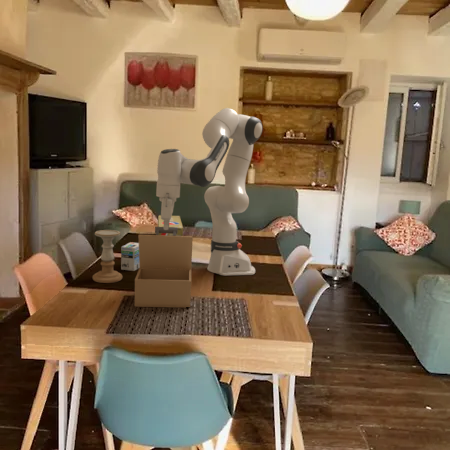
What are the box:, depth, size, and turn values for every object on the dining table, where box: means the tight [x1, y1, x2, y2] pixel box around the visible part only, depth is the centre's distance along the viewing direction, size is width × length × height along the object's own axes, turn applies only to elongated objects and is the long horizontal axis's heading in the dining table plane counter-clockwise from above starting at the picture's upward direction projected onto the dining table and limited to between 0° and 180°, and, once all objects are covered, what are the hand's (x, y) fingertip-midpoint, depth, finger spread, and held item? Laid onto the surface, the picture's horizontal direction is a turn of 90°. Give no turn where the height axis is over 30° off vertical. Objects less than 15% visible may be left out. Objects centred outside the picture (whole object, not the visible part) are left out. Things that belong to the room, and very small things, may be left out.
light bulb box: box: [120, 241, 140, 272], centre depth 213 cm, size 11×7×11 cm, turn 169°
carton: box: [134, 268, 192, 308], centre depth 174 cm, size 20×15×10 cm
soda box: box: [157, 214, 184, 236], centre depth 267 cm, size 40×14×13 cm, turn 8°
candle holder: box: [92, 229, 123, 284], centre depth 194 cm, size 12×12×20 cm
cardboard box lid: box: [137, 226, 194, 270], centre depth 178 cm, size 20×16×6 cm
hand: (166, 228), depth 177 cm, fingers open, 4 cm apart
